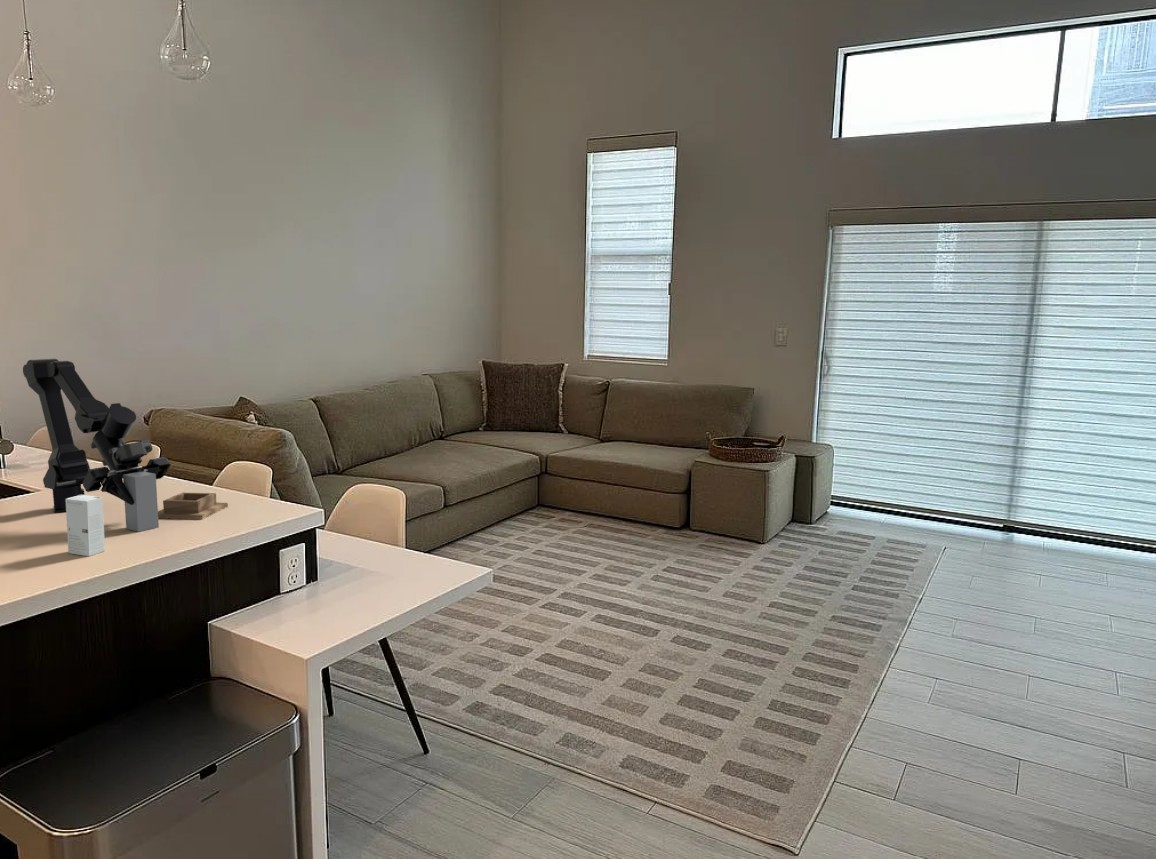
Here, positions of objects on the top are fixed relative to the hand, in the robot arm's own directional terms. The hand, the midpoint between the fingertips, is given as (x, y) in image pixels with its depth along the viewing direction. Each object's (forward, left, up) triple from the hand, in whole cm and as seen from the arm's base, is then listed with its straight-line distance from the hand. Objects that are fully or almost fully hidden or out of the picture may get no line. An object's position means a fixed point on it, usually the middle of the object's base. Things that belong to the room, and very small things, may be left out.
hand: (144, 501), depth 191 cm
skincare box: (-13, -14, -7) cm, 20 cm away
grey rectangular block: (-1, +1, -7) cm, 7 cm away
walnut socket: (+11, +11, -7) cm, 17 cm away
